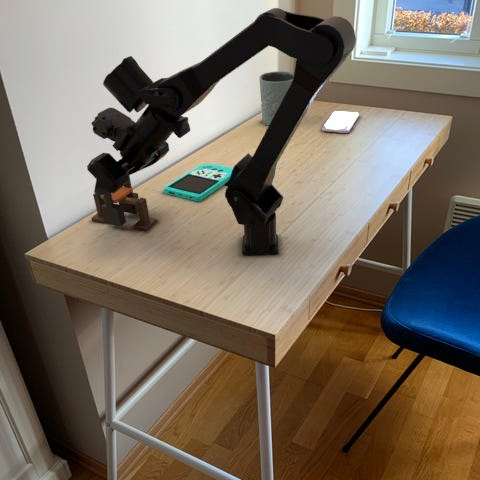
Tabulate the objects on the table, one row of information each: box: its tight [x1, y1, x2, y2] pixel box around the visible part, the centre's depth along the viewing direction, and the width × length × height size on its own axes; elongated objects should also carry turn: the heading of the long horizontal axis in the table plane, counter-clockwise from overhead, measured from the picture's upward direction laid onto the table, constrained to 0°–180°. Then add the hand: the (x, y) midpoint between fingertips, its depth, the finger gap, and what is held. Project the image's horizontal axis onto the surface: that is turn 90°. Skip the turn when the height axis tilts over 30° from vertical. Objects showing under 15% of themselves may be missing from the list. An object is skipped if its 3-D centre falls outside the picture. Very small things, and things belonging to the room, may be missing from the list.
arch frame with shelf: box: [101, 164, 140, 227], centre depth 102 cm, size 7×4×10 cm, turn 156°
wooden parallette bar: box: [91, 192, 158, 232], centre depth 104 cm, size 13×4×6 cm, turn 66°
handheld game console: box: [163, 163, 234, 202], centre depth 118 cm, size 10×16×1 cm, turn 148°
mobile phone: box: [321, 111, 360, 134], centre depth 144 cm, size 8×1×15 cm
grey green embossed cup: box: [259, 70, 294, 127], centre depth 145 cm, size 10×10×12 cm
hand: (110, 183), depth 102 cm, fingers open, 9 cm apart
